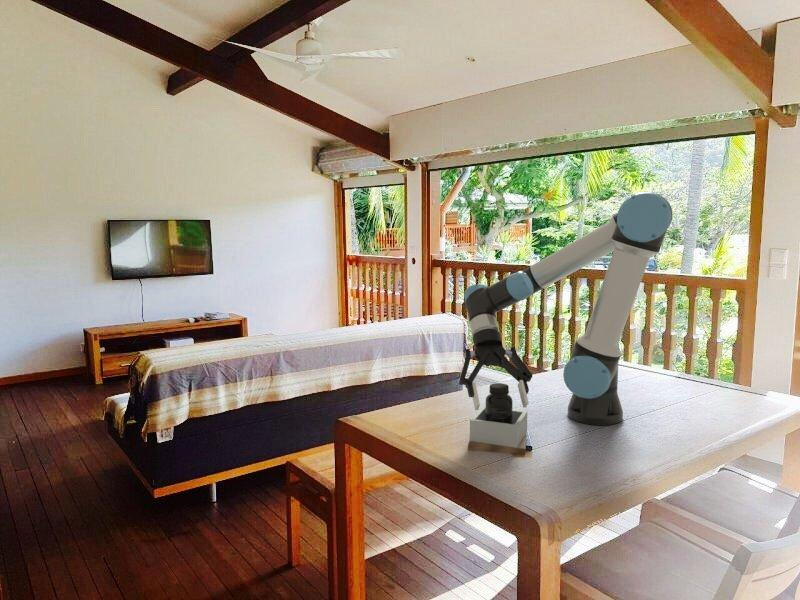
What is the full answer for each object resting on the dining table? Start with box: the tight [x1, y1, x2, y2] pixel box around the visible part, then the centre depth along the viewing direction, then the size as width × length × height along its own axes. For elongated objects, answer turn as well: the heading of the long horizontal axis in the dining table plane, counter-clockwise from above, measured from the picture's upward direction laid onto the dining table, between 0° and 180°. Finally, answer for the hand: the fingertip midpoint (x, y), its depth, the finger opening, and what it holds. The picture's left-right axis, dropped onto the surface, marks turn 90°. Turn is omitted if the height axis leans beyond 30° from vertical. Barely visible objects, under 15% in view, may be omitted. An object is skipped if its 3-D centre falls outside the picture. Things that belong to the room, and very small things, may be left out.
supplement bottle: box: [485, 382, 514, 424], centre depth 153 cm, size 7×7×12 cm
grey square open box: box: [469, 405, 528, 448], centre depth 153 cm, size 12×12×6 cm
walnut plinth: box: [467, 431, 528, 455], centre depth 154 cm, size 14×14×2 cm
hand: (501, 406), depth 150 cm, fingers open, 12 cm apart
